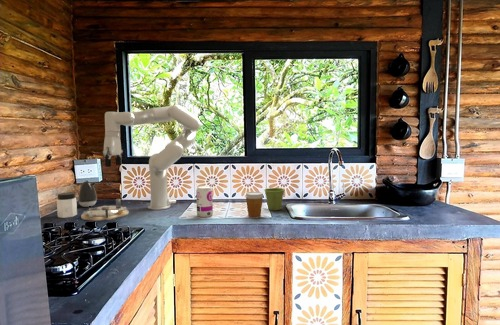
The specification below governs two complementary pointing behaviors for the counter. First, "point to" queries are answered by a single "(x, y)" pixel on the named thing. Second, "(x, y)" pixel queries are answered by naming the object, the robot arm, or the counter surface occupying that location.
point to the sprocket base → (100, 218)
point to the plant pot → (274, 198)
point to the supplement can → (204, 201)
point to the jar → (66, 205)
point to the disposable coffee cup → (254, 203)
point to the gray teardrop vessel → (87, 194)
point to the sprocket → (101, 210)
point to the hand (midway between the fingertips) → (113, 165)
